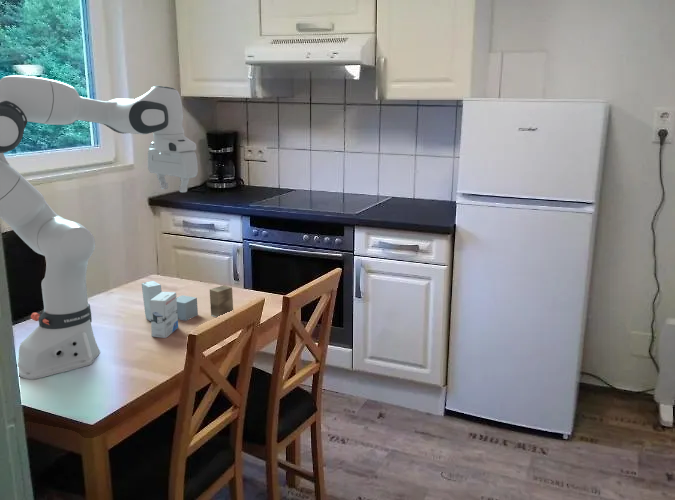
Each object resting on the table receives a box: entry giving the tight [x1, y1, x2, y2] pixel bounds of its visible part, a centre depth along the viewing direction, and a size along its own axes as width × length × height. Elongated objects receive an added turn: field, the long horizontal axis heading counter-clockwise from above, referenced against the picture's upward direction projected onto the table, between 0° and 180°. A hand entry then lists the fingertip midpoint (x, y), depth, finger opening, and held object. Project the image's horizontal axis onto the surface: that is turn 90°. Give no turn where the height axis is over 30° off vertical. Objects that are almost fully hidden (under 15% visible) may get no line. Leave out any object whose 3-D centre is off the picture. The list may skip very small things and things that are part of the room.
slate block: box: [176, 294, 199, 322], centre depth 204 cm, size 6×6×6 cm
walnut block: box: [209, 284, 234, 318], centre depth 205 cm, size 6×4×9 cm, turn 139°
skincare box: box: [141, 280, 163, 322], centre depth 201 cm, size 6×4×12 cm
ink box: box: [150, 291, 179, 339], centre depth 190 cm, size 9×5×12 cm, turn 168°
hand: (173, 190), depth 188 cm, fingers open, 8 cm apart
